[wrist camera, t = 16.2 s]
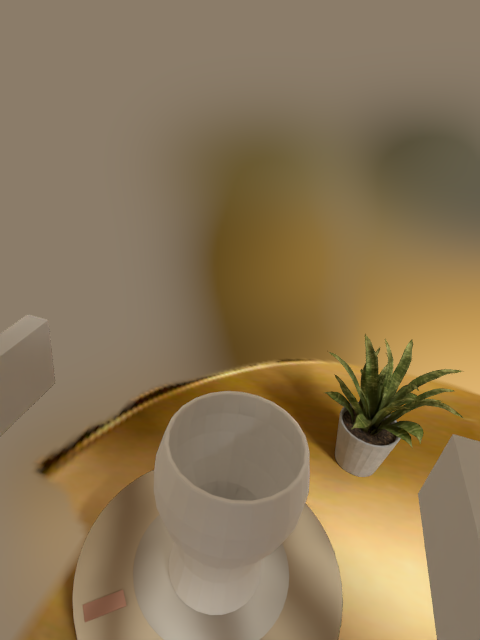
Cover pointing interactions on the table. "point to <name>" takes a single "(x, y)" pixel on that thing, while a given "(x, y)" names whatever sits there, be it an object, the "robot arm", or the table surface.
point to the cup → (228, 494)
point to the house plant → (379, 411)
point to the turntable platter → (166, 606)
